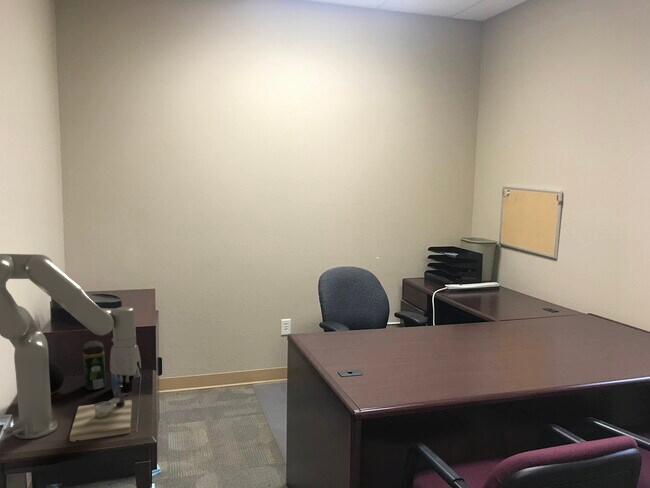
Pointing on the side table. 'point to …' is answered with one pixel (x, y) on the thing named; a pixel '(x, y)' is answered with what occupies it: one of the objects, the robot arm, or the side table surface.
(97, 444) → the side table surface
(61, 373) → the black half-round shape
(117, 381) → the ink cartridge box
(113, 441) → the side table surface
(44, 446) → the side table surface
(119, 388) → the crank dial
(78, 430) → the birch stand
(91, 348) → the coffee jar
